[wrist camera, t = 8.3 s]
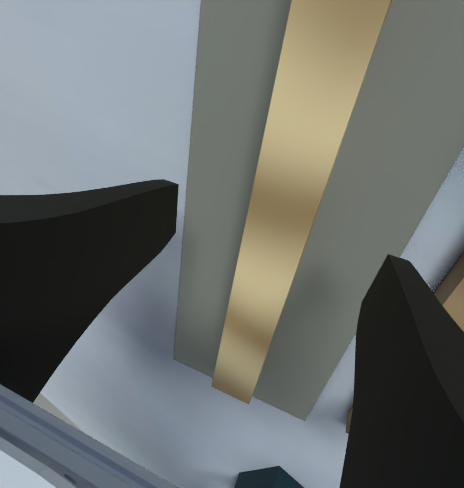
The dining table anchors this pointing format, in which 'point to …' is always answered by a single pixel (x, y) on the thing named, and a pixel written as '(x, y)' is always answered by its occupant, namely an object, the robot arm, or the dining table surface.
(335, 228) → the mat
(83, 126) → the dining table surface
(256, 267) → the rail
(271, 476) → the watch
